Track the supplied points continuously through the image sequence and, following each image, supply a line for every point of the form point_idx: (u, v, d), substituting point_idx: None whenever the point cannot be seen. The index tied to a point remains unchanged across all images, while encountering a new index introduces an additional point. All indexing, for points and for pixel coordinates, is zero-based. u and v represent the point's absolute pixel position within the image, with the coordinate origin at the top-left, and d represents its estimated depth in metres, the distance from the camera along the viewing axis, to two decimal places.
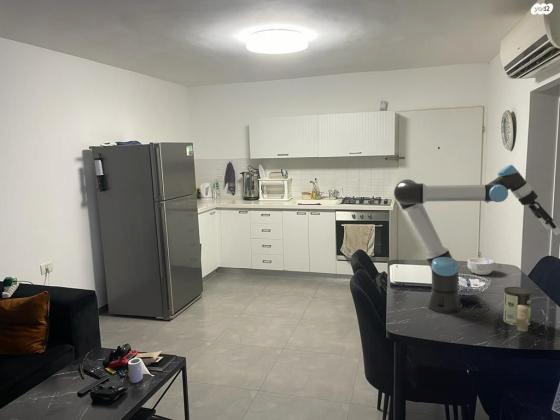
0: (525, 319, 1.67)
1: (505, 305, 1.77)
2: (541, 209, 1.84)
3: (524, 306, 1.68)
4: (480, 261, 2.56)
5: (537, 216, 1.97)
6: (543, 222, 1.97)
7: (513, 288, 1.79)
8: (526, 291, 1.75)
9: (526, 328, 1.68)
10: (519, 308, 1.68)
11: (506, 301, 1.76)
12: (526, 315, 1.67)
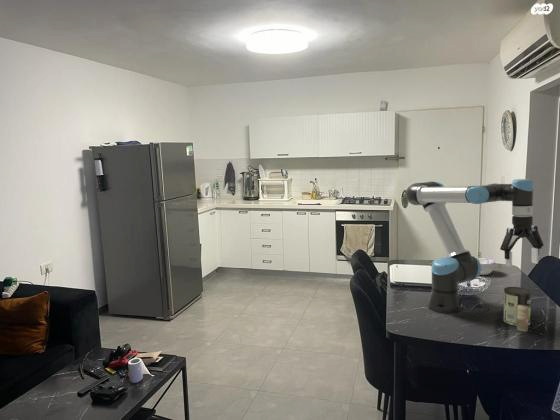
0: (525, 319, 1.67)
1: (505, 305, 1.77)
2: (508, 236, 1.72)
3: (524, 306, 1.68)
4: (480, 261, 2.56)
5: (532, 244, 1.78)
6: (532, 253, 1.78)
7: (513, 288, 1.79)
8: (526, 291, 1.75)
9: (526, 328, 1.68)
10: (519, 308, 1.68)
11: (506, 301, 1.76)
12: (526, 315, 1.67)
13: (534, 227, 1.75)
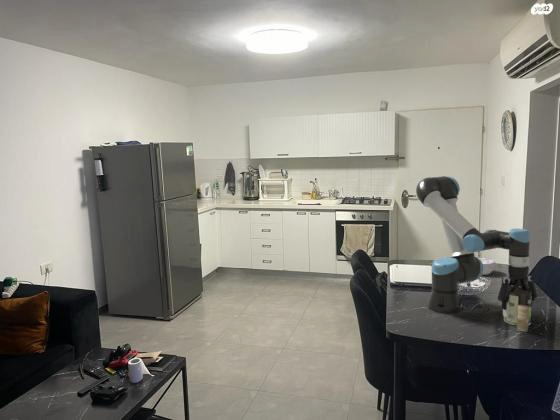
0: (525, 319, 1.67)
1: None
2: (504, 286, 1.75)
3: (524, 306, 1.68)
4: None
5: None
6: None
7: None
8: (526, 291, 1.75)
9: (526, 328, 1.68)
10: (519, 308, 1.68)
11: None
12: (526, 315, 1.67)
13: (531, 277, 1.76)
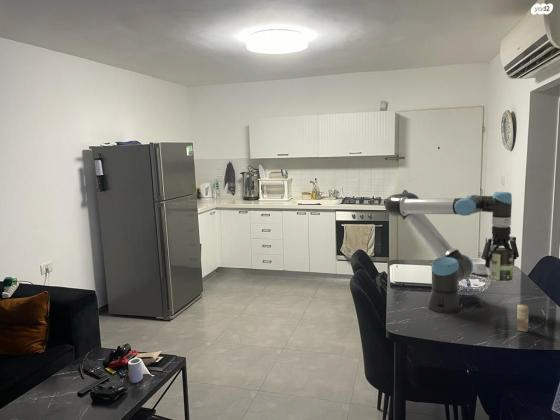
0: (525, 319, 1.67)
1: None
2: (487, 245, 1.86)
3: (524, 306, 1.69)
4: (480, 261, 2.56)
5: None
6: None
7: (497, 248, 1.91)
8: (509, 250, 1.86)
9: (526, 328, 1.68)
10: (519, 308, 1.68)
11: (490, 260, 1.88)
12: (526, 315, 1.67)
13: (513, 238, 1.88)
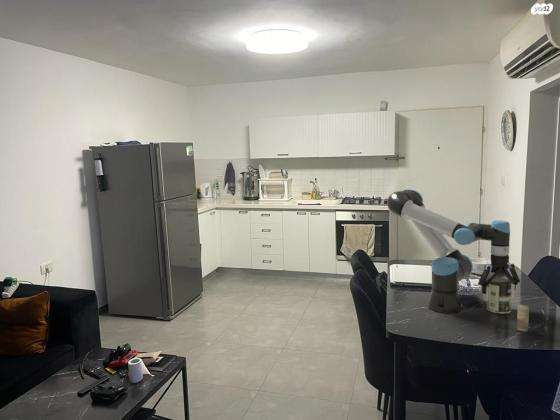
0: (525, 319, 1.67)
1: (488, 294, 1.91)
2: (485, 272, 1.88)
3: (524, 306, 1.69)
4: (480, 261, 2.56)
5: None
6: None
7: (495, 279, 1.93)
8: (507, 281, 1.89)
9: (526, 328, 1.68)
10: (519, 308, 1.68)
11: (489, 290, 1.90)
12: (526, 315, 1.67)
13: (511, 265, 1.90)
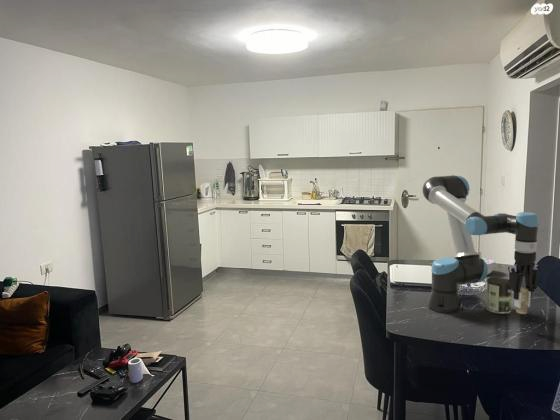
0: (525, 301, 1.67)
1: (488, 294, 1.91)
2: (512, 276, 1.66)
3: (523, 288, 1.68)
4: None
5: (526, 285, 1.69)
6: None
7: (495, 279, 1.93)
8: (507, 281, 1.89)
9: (526, 310, 1.68)
10: None
11: (489, 290, 1.90)
12: (526, 297, 1.67)
13: (537, 266, 1.67)
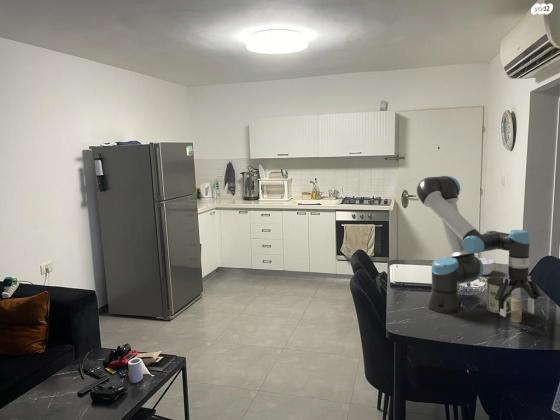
0: (518, 311, 1.76)
1: (488, 294, 1.91)
2: (503, 286, 1.75)
3: (517, 298, 1.77)
4: None
5: (528, 294, 1.79)
6: (529, 303, 1.79)
7: (495, 279, 1.93)
8: None
9: (519, 319, 1.77)
10: (513, 300, 1.77)
11: (489, 290, 1.90)
12: (519, 307, 1.76)
13: (531, 278, 1.76)
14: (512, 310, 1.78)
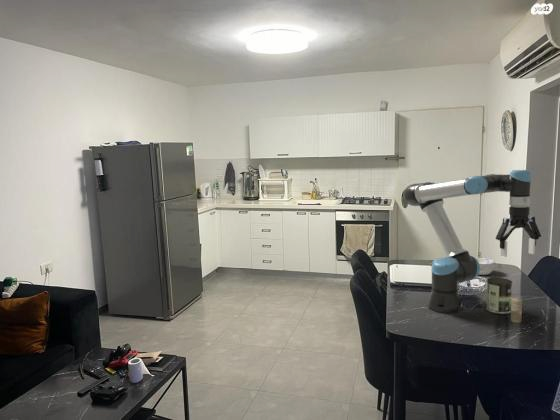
0: (518, 311, 1.76)
1: (488, 294, 1.91)
2: (504, 225, 1.75)
3: (517, 298, 1.77)
4: (480, 261, 2.56)
5: (529, 235, 1.79)
6: (530, 244, 1.79)
7: (495, 279, 1.93)
8: (507, 281, 1.89)
9: (519, 319, 1.77)
10: (513, 300, 1.77)
11: (489, 290, 1.90)
12: (519, 307, 1.76)
13: (531, 218, 1.76)
14: (512, 310, 1.78)
